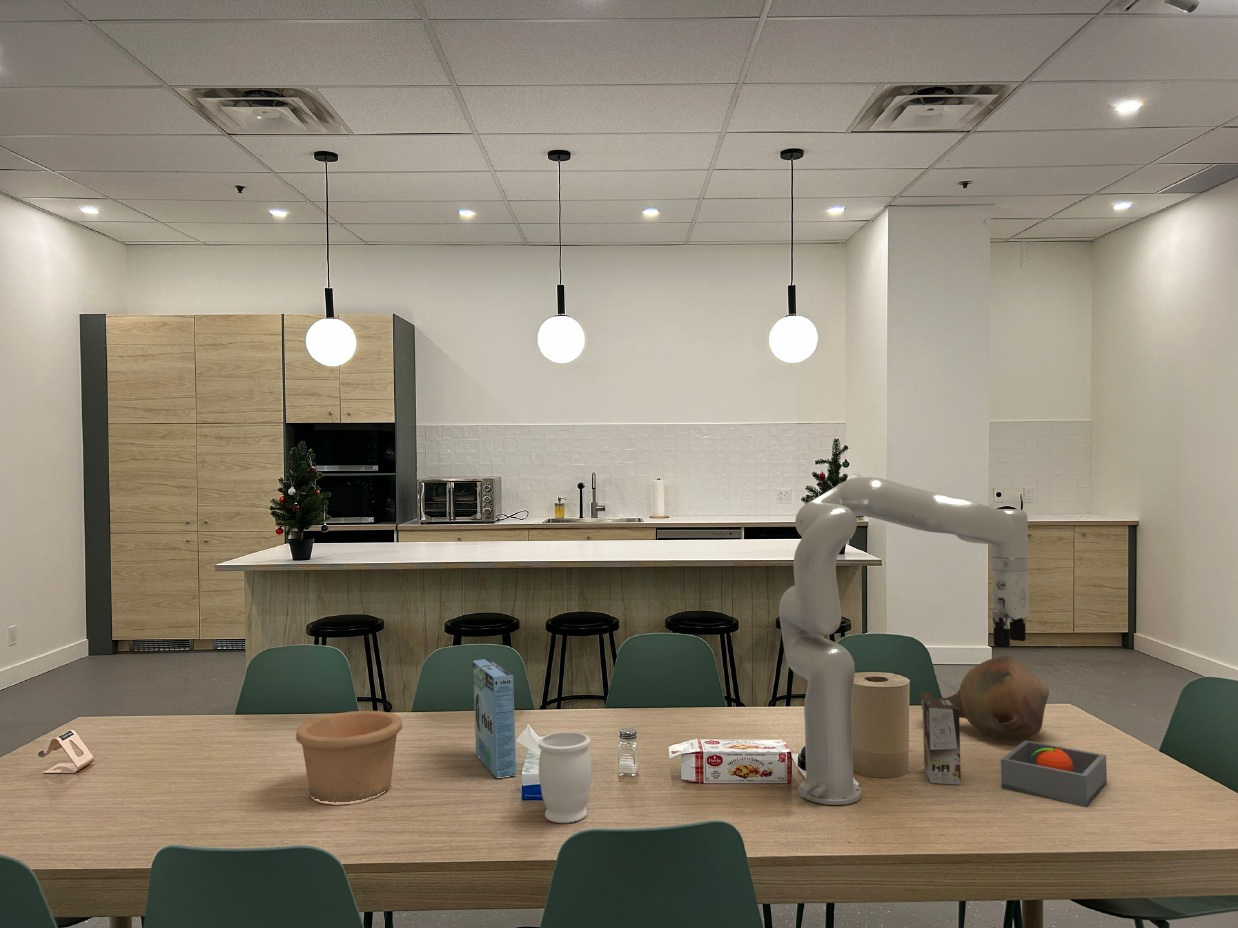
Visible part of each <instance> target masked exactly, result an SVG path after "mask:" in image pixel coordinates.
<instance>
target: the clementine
mask: <svg viewBox="0 0 1238 928" xmlns="http://www.w3.org/2000/svg"><path fill="white" fill-rule="evenodd" d="M1042 750H1043V751H1042ZM1039 751H1041V752H1040V753H1039V754H1038V756H1037V759H1036V765H1040V766H1045V767H1050V768H1055V769H1060V770H1065V771H1070V772H1073V764H1072V761H1071V759H1070V757H1069V756H1068V755H1067V754H1066V753H1065V752H1063V751H1062V750H1060V749H1057V748H1042V749H1039V750H1037V751H1035V752H1034V753H1033V754H1032V756H1033V755H1034V754H1035V753H1036V752H1039Z"/></svg>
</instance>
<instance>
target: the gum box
mask: <svg viewBox="0 0 1238 928" xmlns="http://www.w3.org/2000/svg"><path fill="white" fill-rule="evenodd" d="M472 668H473V670H472V672H473V695H474V697H473V698H474V699H473V702H474V704H473V705H474V730H475V754H476V753H477V755H478V756H479V757H480V759H481V760H482V761H483V762H482V761H481V760H480V759H479V760H480V761H481V762H482V764H483V763H484V764H485V765H486V766H487V767H486V766H485V765H484V764H483V765H484V766H485V767H486V768H487V770H488V769H489V770H490V771H491V772H492V773H491V772H490V771H489V770H488V771H489V772H490V773H491V775H492V774H493V775H494V776H495V777H496V778H498V777H505V776H513V775H514V777H516V776H517V760H516V758H517V753H516V728H515V727H516V722H515V721H516V720H515V698H514V697H515V696H514V694H515V693H514V692H515V691H514V674H513V673H511V672H510V671H508V670H507V669H505V668H504V667H502V666H501V665H500V664H499V663H497V662H496V661H494V660H493V659H492V658H483V659H477V660H473V661H472ZM477 755H476V756H477ZM478 756H477V757H478ZM479 757H478V758H479ZM493 775H492V776H493ZM515 775H516V776H515ZM494 776H493V777H494ZM495 777H494V778H495ZM496 778H495V779H496Z"/></svg>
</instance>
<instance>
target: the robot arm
mask: <svg viewBox="0 0 1238 928" xmlns="http://www.w3.org/2000/svg"><path fill="white" fill-rule="evenodd" d="M857 517H865V518H866V517H869V518H873V519H877V520H879V521H884V522H888V523H892V524H896V525H899V526H903V527H906V528H910V529H913V530H917V531H923V532H929V533H937V534H938V533H939V534H946V535H947V534H948V535H949V534H950V535H954V536H956V537H957V538H958V539H959V540H962V541H964V542H966V543H973V544H983V545H984V544H985V545H990V547H989V548H990V550H989V552H990V555H989V556H990V557H989V558H990V572H991V573H993V576H992V577H993V578H992V591H991V592H992V593H991V597H992V598H991V602H992V604H991V607H992V611H991V613H992V621H993V624H992V628H993V646H994V647H997V648H999V647H1000V648H1006V649H1008V648H1010V647H1011V641H1017V642H1019V641H1020V642H1025V641H1026V640H1027V638H1026V630H1027V629H1026V627H1027V626H1026V621H1027V618H1026V617H1027V616H1028V615H1030V597H1029V596H1030V595H1029V592H1030V591H1029V583H1028V575H1027V574H1029V539H1028V538H1029V535H1028V533H1029V531H1028V529H1029V528H1028V527H1029V525H1028V524H1029V523H1028V514H1027V513H1026V511H1025V510H1022V509H1018V508H1017V509H1016V508H1015V509H1013V508H1011V509H1010V508H1004V509H1003V508H1001V509H1000V508H996V507H993V506H989V505H985V504H981V503H978V502H974V501H969V500H966V499H961V498H956V497H952V496H948V495H945V494H941V493H936V492H932V491H927V490H925V489H920V488H916V487H912V486H910V485H909V486H908V485H905V484H902V483H898V482H895V481H891V480H887V479H884V478H881V477H880V478H879V477H872V476H870V477H865V476H863V477H857V476H856V477H852V478H849V479H847V480H844V481H843V482H841V483H839V484H837V485H835V486H834V487H833V488H831V489H829V490H827V491H825V492H824V493H822V494H821V495H819V496H817V497H815V498H814V499H812V500H810V501H808V502H807V503H805V504H804V505H803V506H802V507H800V508H799V510H798V512H797V514H796V515H795V521H794V522H795V523H794V524H795V528H796V531H797V533H798V535H800V536H801V538H800V541H799V543H798V544H797V547H796V550H795V552H794V557H793V577H794V585H792V586H790V587H789V588H788V589H786V590H785V592H784V593H783V595H782V596H781V599H780V602H779V608H778V609H779V610H778V612H779V623H780V630H781V636H782V642H783V645H782V646H783V650H784V655H785V656H784V657H785V659H786V663H787V665H788V667H789V669H791V671H792V672H793V673H795V675H797V676H799V677H801V678H802V679H804V680H807V682H808V683H807V690H806V692H805V697H804V698H805V699H804V707H803V708H804V709H803V710H804V712H803V713H804V738H805V740H804V741H805V746H804V747H805V780H804V781H802V782H801V783H800V784H799V786H798V787H797V795H799V797H801V798H804V799H805V800H808V801H810V802H812V803H815V804H821V805H826V806H827V805H829V806H840V805H841V806H843V805H844V806H845V805H850V804H854V803H855V802H858V801H859V800H860V799H861V798H862V795H863V794H862V789H861V787H859V785H858V784H855V783H854V755H853V753H854V751H853V750H854V749H853V745H854V744H853V719H852V718H853V716H852V711H853V710H852V704H853V703H852V702H853V701H852V699H853V688H854V683H855V682H854V681H855V674H856V673H855V672H856V666H855V661H854V659H853V658H854V657H852V655H851V653H850V652H849V651H848V649H847V648H846V647H844V646H842V644H839V643H837V642H835V641H833V640H830V639H827V638H825V637H824V636H829V635H832V634H834V633H835V632H836V631H837V630H838V629H839V628H840V625H841V622H842V609H841V602H840V595H839V589H838V580H837V569H836V568H837V567H836V565H837V559H838V556H839V554H840V552H841V551H842V549H843V548H844V546H845V545H846V544H847V543H848V542H849V541H850V540H851V539H852V538H853V536H854V534H855V532H856V530H857V526H858V524H857Z"/></svg>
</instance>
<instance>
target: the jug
mask: <svg viewBox="0 0 1238 928" xmlns="http://www.w3.org/2000/svg"><path fill="white" fill-rule="evenodd" d="M1049 695H1050V689H1049V687H1048V685H1047V684H1046V683H1045V682H1044V681H1042V680H1041V679H1040V678H1038V676H1036V675H1034V674H1033V673H1032V672H1031V671H1029V670H1028V669H1027V668H1026V667H1025V665H1024V664H1022V662H1020V661H1019V660H1017V658H1015V657H1012V656H997V657H994V658H990V659H987V660H985V661H983V662H981V663H979V664H977V665H975V666H974V667H972V668H971V669H970V670H969V671H968V672H967V673H966V674H965V675H964V677H963V679H962V680H961V683H960V686H959V690H958V691H957V692H956V693H954V694H953V695H950V696H947V697H946V698H951V699H952V700H953V701H954V703H955V704H956V705H957V706H958V708H959V719H960V718H961V719H965V720H967V721H968V722H969V723H970V725H972V726H973V727H974V728H975V729H977V730H978V731H980V732H982V733H984V734H985V735H989V736H993V737H996V738H1001V739H1002V738H1003V739H1011V740H1014V739H1016V740H1017V739H1023V738H1024V739H1025V738H1029V737H1032V736H1035V735H1037V734H1038V733H1039V732H1040V731H1041V730H1042V728H1043V727H1042V726H1043V722H1044V716H1045V709H1046V705H1047V702H1048V698H1049ZM922 698H934V696H932V695H931V693H929V692H927V691H924V692H922V694H921V699H920V700H921V701H920V702H921V705H920V706H921V709H922V711H923V706H922Z"/></svg>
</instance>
